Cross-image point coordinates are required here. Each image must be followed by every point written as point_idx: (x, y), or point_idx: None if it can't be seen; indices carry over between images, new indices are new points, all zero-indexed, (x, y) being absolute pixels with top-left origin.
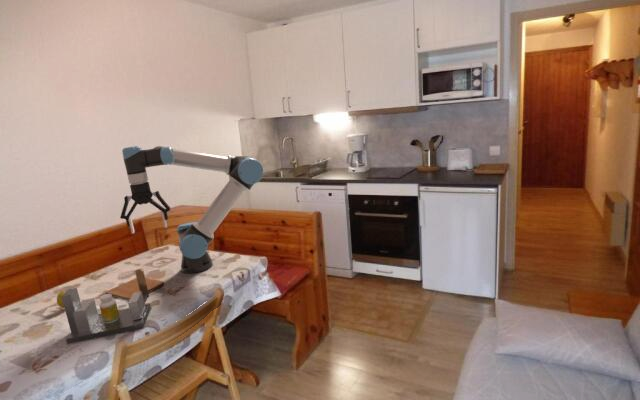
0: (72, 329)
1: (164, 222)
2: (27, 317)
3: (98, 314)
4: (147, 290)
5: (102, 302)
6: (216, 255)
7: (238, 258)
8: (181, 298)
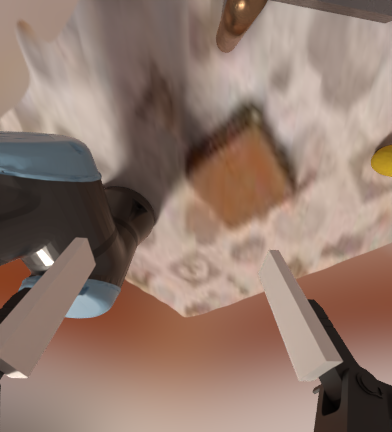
0: None
1: (58, 266)
2: None
3: (359, 3)
4: (219, 24)
5: None
6: None
7: None
8: (129, 16)
